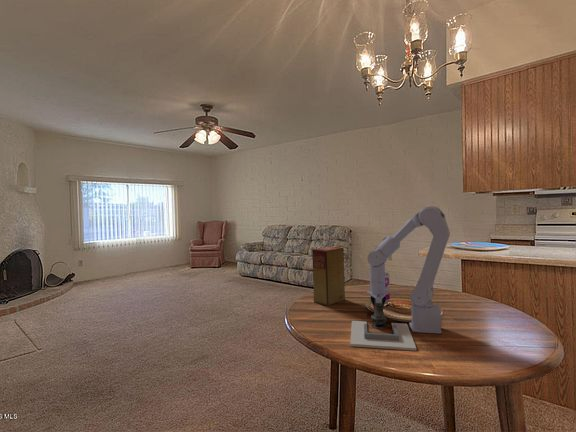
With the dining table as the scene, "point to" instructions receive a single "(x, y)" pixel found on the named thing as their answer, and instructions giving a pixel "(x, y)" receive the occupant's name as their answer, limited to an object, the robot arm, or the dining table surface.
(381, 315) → the black chess piece
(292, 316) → the dining table surface
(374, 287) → the robot arm
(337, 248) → the food packaging
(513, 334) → the dining table surface
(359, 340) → the board
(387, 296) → the supplement can
